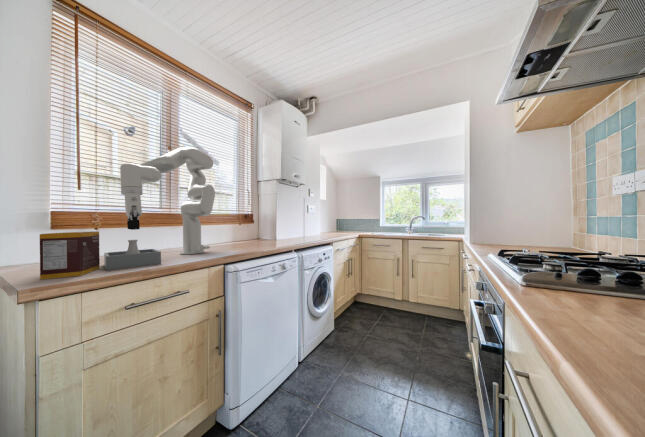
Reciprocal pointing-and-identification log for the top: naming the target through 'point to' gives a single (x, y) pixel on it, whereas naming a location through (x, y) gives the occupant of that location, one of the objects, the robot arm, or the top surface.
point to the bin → (131, 259)
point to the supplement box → (68, 254)
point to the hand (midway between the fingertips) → (133, 229)
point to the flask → (132, 247)
